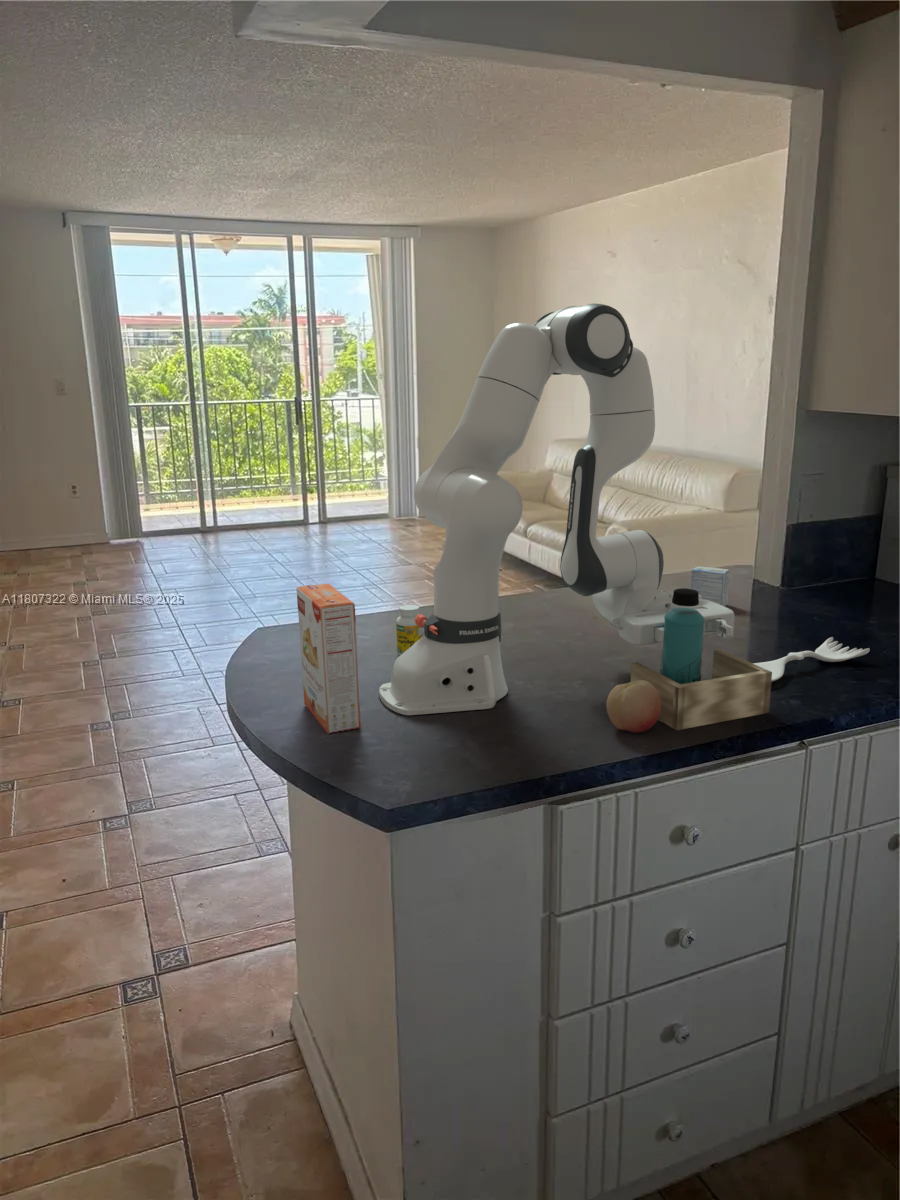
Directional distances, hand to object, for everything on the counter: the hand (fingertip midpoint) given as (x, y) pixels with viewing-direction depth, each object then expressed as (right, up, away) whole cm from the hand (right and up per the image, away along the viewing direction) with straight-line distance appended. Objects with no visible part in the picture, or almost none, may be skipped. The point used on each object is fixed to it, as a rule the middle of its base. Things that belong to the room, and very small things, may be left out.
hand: (705, 636), depth 141 cm
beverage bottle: (-4, -12, +3) cm, 13 cm away
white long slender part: (+22, -8, +21) cm, 32 cm away
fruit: (-13, -15, -4) cm, 20 cm away
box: (0, -12, +4) cm, 13 cm away
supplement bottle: (-49, -5, +34) cm, 60 cm away
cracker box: (-61, -13, +2) cm, 62 cm away
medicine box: (+20, +5, +67) cm, 70 cm away
